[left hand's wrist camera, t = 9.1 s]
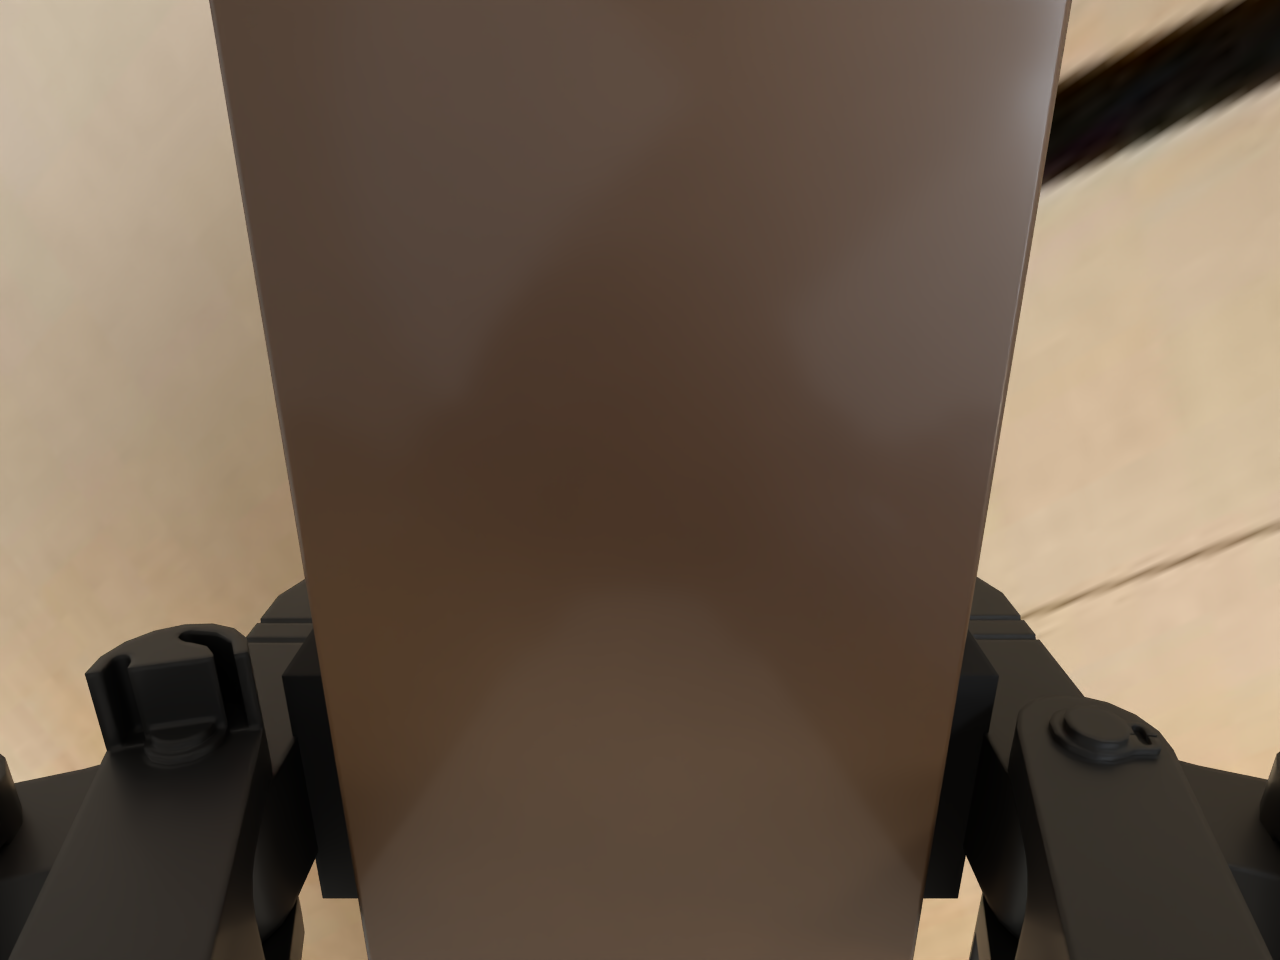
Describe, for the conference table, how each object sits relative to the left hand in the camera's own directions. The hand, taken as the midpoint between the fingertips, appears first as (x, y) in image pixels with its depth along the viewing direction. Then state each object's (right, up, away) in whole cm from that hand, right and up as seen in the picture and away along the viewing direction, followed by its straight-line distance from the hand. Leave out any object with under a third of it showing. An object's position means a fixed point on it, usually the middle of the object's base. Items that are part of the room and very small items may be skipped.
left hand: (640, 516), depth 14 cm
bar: (0, -27, +12) cm, 29 cm away
